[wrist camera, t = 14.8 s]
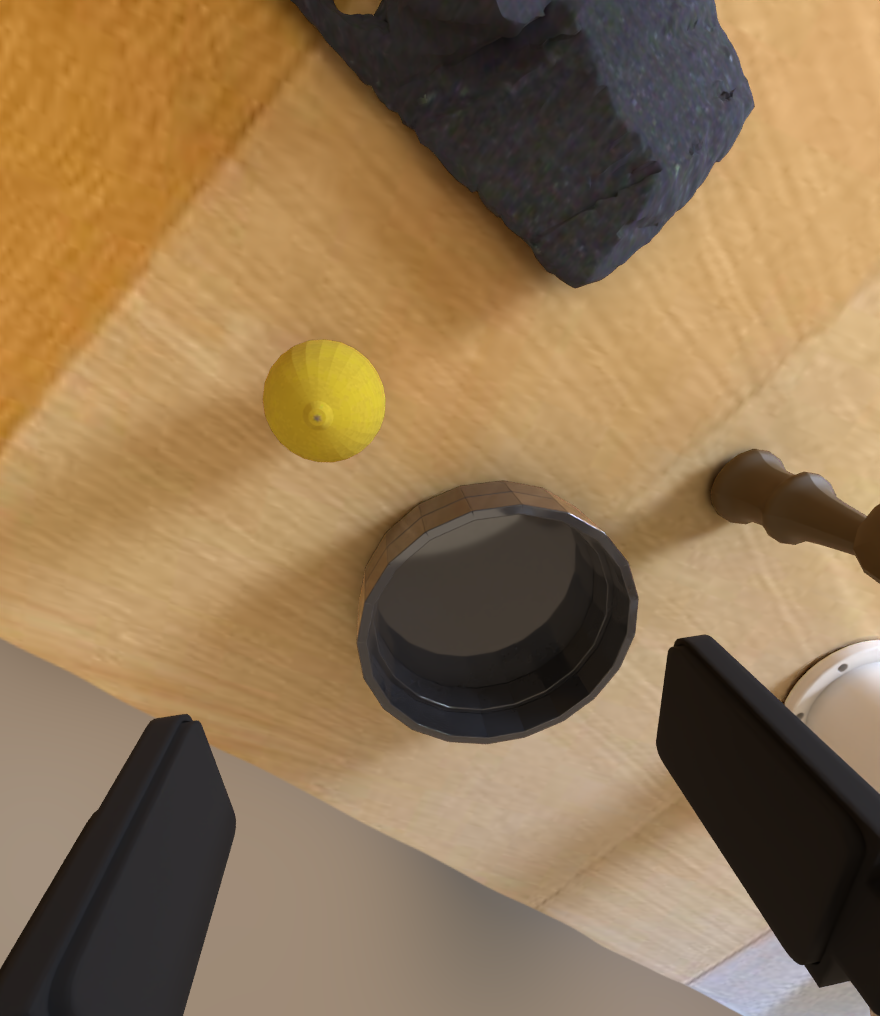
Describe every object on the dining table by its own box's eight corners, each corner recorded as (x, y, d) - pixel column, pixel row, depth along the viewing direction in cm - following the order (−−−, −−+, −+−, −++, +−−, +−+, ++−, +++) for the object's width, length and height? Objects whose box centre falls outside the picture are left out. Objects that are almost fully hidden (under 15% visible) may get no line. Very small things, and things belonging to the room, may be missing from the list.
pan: (610, 464, 29) (649, 487, 25) (598, 673, 36) (627, 719, 32) (340, 498, 28) (334, 529, 24) (379, 710, 34) (379, 764, 30)
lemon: (266, 412, 25) (222, 448, 18) (305, 317, 24) (275, 314, 16) (358, 455, 27) (352, 505, 19) (400, 368, 25) (412, 387, 18)
